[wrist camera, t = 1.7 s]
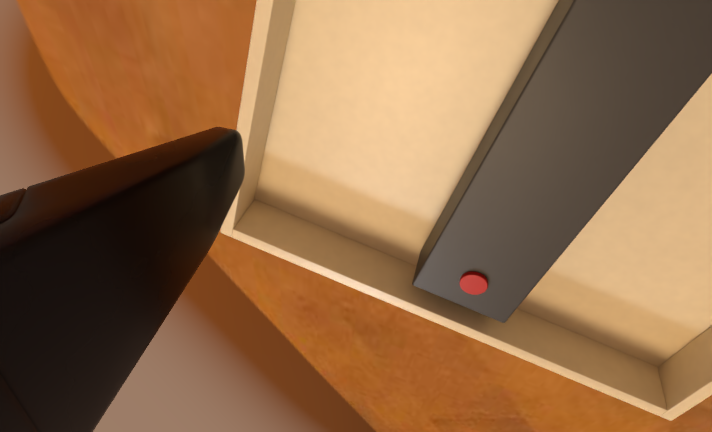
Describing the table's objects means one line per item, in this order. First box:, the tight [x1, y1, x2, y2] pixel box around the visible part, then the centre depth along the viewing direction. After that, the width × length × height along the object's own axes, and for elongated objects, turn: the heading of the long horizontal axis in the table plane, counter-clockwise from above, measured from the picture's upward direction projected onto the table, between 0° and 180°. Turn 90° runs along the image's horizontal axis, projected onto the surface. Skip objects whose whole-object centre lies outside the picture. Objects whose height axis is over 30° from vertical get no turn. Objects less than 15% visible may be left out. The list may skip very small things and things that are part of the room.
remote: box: [412, 0, 712, 323], centre depth 19 cm, size 15×5×3 cm, turn 163°
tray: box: [221, 0, 712, 421], centre depth 19 cm, size 23×18×3 cm
